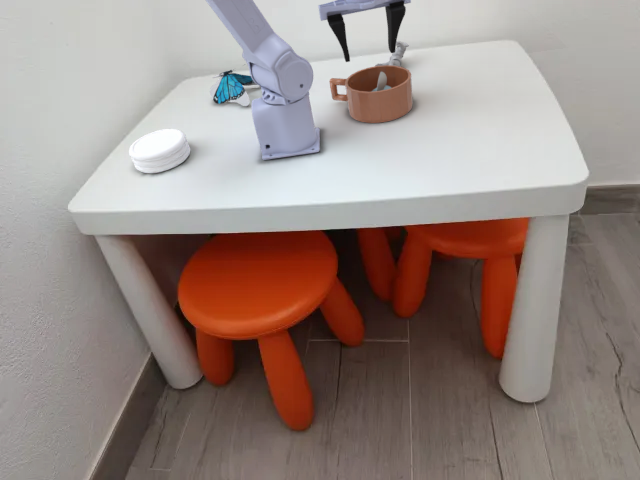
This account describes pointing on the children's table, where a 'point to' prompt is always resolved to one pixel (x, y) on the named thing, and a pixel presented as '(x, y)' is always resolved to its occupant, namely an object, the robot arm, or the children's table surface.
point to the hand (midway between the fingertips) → (369, 55)
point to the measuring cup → (376, 94)
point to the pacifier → (382, 82)
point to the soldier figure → (396, 54)
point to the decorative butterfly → (231, 88)
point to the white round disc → (159, 150)
